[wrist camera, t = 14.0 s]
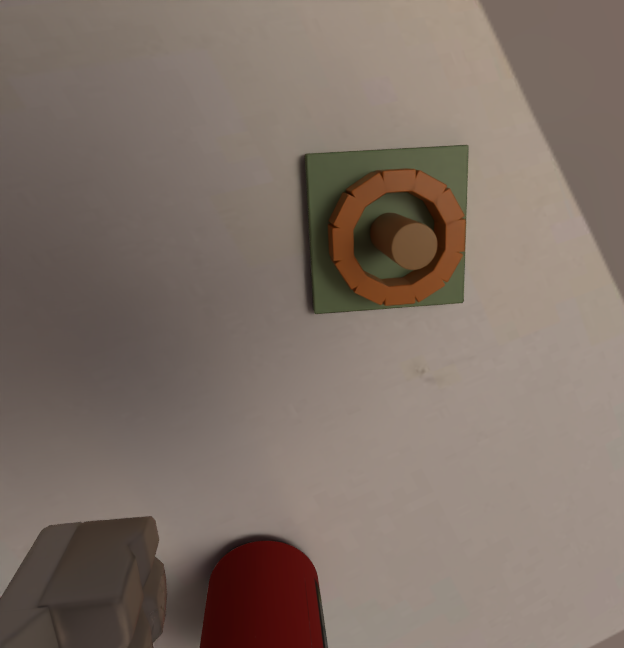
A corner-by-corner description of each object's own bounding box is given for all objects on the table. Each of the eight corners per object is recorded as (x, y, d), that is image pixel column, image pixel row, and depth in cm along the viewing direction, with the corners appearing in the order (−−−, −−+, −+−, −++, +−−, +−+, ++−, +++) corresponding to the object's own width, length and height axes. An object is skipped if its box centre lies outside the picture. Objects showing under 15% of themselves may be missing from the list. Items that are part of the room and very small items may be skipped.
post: (304, 154, 26) (315, 151, 21) (463, 145, 27) (512, 141, 21) (313, 310, 28) (324, 344, 23) (458, 299, 29) (501, 330, 24)
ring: (325, 173, 26) (329, 173, 24) (454, 165, 26) (467, 165, 24) (331, 301, 28) (335, 310, 26) (451, 291, 28) (463, 300, 26)
